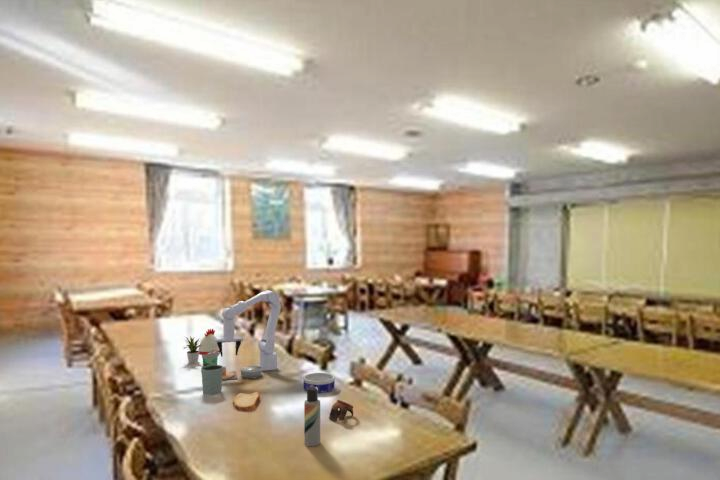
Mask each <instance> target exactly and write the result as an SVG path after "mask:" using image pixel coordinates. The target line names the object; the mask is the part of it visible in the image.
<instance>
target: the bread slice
mask: <svg viewBox="0 0 720 480" xmlns="http://www.w3.org/2000/svg"><path fill="white" fill-rule="evenodd" d="M260 400H261V395H260V393H259V391H255V392H252V393H243V392H239V393H238V394H237V395H235V397H233V400H232V405H233V408H234V409H235V410H237V411H240V412H244V413H247V412H248V413H249V412H254V411H255V409H257V407H258V405H259V403H260Z"/></svg>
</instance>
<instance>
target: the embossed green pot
mask: <svg viewBox="0 0 720 480" xmlns="http://www.w3.org/2000/svg"><path fill="white" fill-rule="evenodd" d="M200 371H201V385H202V394H203V395H205V396H215V395H219V394H220V393H222V389H223V388H222V387H223V384H222V383H223V380H222V373H223V365H221V364H217V365H208V366H204V367H203V366H201V368H200Z"/></svg>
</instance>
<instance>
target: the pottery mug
mask: <svg viewBox="0 0 720 480" xmlns="http://www.w3.org/2000/svg"><path fill="white" fill-rule="evenodd" d="M353 408H354V406H353V405H352V404H350V403H347V402H345V401H343V400H340V399H337V401H336V402H334V404H332V406H331V408H330V412H329V416H328V419H330V420H331V421H334V422H335V423H336V422H338V420H340V421H345V418H346V415H347V414H348V412H349V413H350V414H351V416H350V417H351V418H353V416H354V409H353Z"/></svg>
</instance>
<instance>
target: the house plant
mask: <svg viewBox="0 0 720 480" xmlns="http://www.w3.org/2000/svg"><path fill="white" fill-rule="evenodd" d="M183 337H185V338H186V341H187V344H186V345H185V346H184V347H183V350H184V349H188V351H187V352H186V354H187V356H186V357H187V360H188V363H189V364H196V363H198V362H199V357H200V354H199V351H198V349H199V346H201V345H200V341H201V340H202V339H203V338H202V339H200V338H198V339H196V340H195V341H194V339H195V335H194V337H193V338H192V337H191V335H190V336H189V337H190V339H189V338H188V337H186V336H183ZM199 340H200V341H199ZM202 347H203V346H202Z"/></svg>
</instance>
